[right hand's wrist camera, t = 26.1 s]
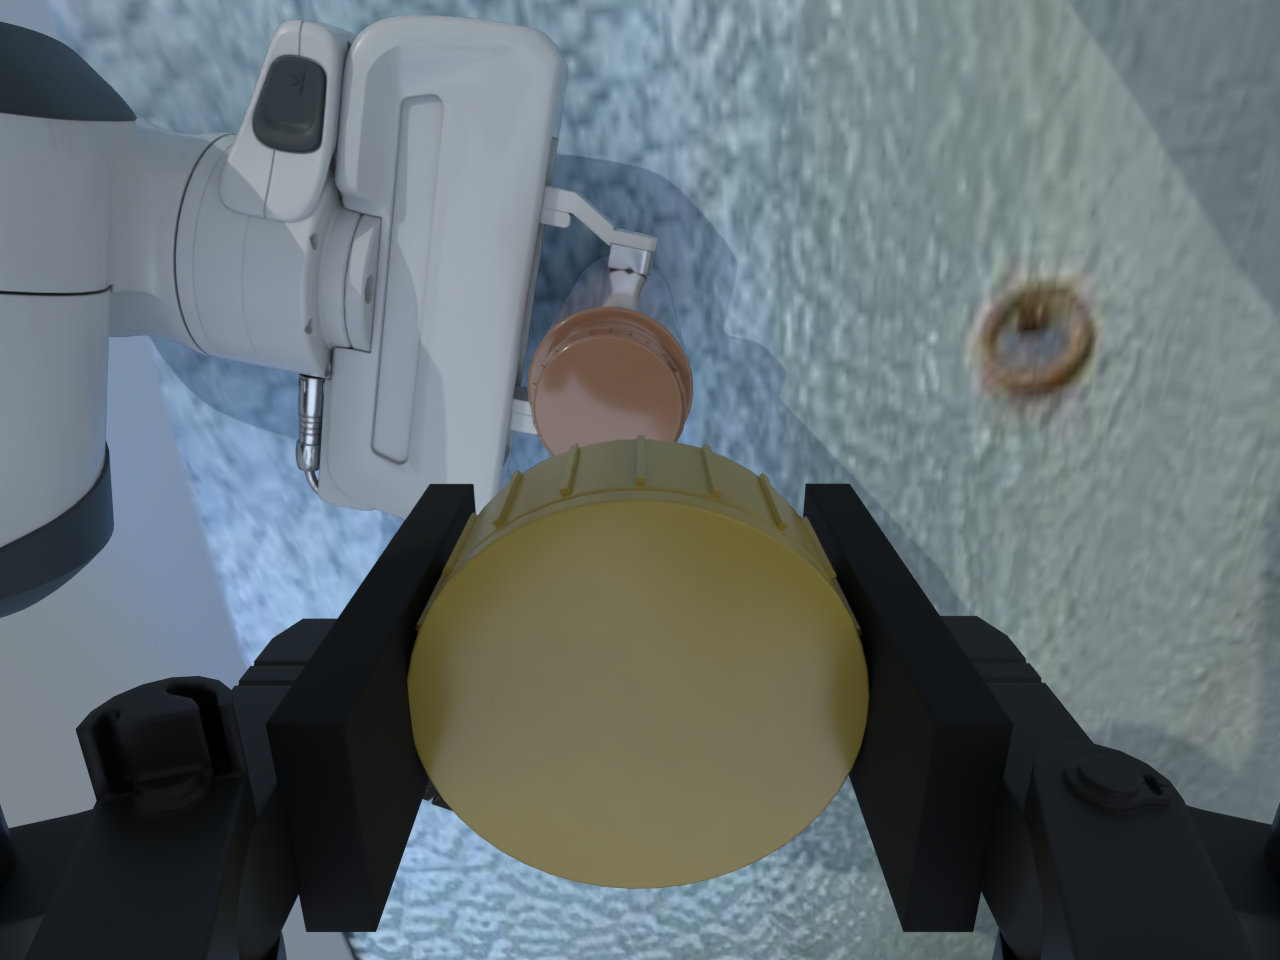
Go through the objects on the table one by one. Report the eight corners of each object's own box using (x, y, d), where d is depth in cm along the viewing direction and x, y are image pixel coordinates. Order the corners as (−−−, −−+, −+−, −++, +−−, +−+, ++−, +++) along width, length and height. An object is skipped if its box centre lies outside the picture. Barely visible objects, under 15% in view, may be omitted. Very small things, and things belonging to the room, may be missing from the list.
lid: (782, 796, 13) (810, 917, 11) (430, 748, 13) (387, 863, 11) (877, 469, 11) (933, 539, 9) (463, 401, 11) (419, 458, 9)
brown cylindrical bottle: (593, 368, 41) (559, 517, 23) (555, 274, 39) (487, 357, 22) (685, 334, 40) (722, 459, 23) (651, 237, 39) (662, 291, 21)
